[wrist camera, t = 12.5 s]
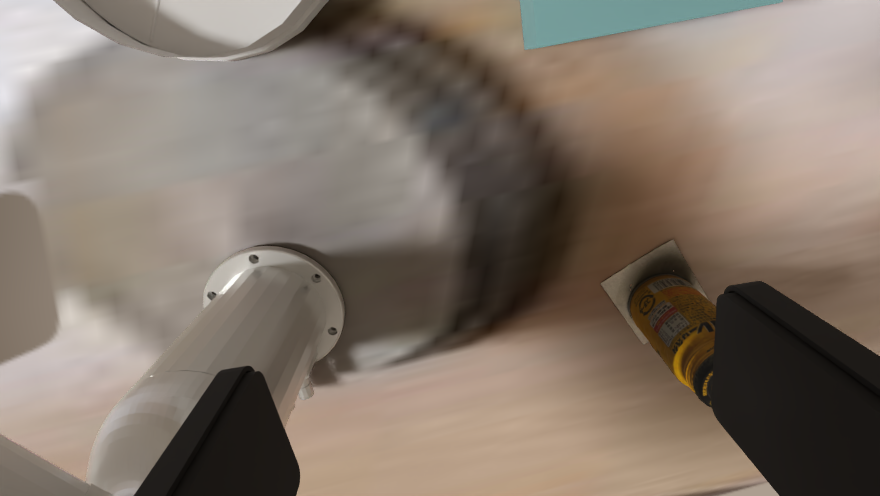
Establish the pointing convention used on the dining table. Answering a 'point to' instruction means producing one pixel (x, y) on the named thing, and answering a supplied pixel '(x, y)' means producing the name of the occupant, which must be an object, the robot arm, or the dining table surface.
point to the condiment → (669, 314)
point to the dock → (612, 16)
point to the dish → (197, 25)
